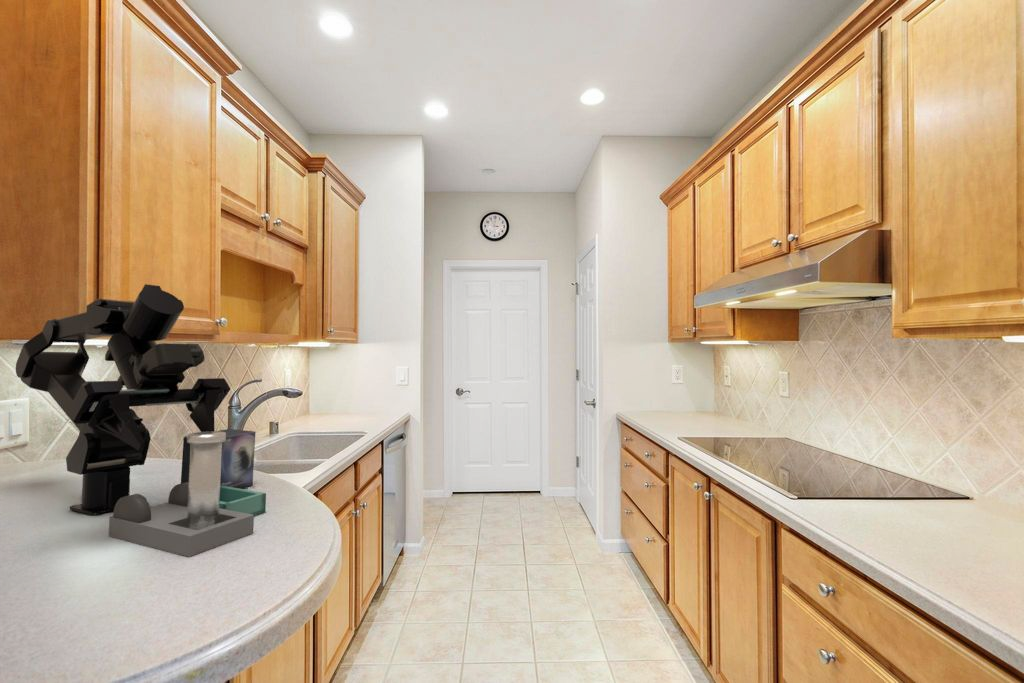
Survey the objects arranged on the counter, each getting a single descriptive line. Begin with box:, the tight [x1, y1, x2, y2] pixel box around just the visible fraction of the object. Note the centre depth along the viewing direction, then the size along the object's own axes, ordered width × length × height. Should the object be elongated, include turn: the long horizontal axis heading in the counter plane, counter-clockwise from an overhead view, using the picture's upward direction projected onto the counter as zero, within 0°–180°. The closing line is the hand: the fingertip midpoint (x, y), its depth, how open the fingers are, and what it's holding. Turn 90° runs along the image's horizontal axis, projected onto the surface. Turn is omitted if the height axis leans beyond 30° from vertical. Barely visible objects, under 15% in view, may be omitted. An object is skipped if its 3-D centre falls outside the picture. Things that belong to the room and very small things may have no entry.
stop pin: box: [186, 430, 226, 530], centre depth 65 cm, size 4×4×14 cm
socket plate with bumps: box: [108, 482, 255, 558], centre depth 67 cm, size 16×9×6 cm, turn 68°
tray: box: [219, 486, 267, 517], centre depth 76 cm, size 10×7×3 cm
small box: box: [180, 428, 257, 489], centre depth 88 cm, size 11×6×10 cm, turn 168°
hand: (178, 442), depth 69 cm, fingers open, 9 cm apart
